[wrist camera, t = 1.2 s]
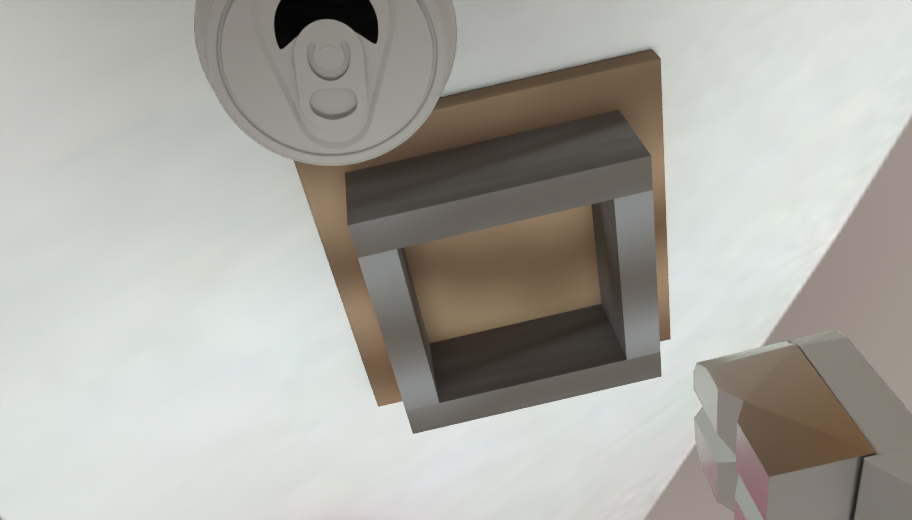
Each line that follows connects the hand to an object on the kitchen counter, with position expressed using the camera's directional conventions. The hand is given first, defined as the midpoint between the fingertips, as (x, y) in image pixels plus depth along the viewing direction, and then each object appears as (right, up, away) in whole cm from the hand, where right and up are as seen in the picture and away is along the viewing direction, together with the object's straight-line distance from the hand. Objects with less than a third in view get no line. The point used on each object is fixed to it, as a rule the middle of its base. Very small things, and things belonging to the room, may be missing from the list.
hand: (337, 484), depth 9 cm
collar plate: (+3, +3, +28) cm, 29 cm away
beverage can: (-3, +14, +20) cm, 25 cm away
